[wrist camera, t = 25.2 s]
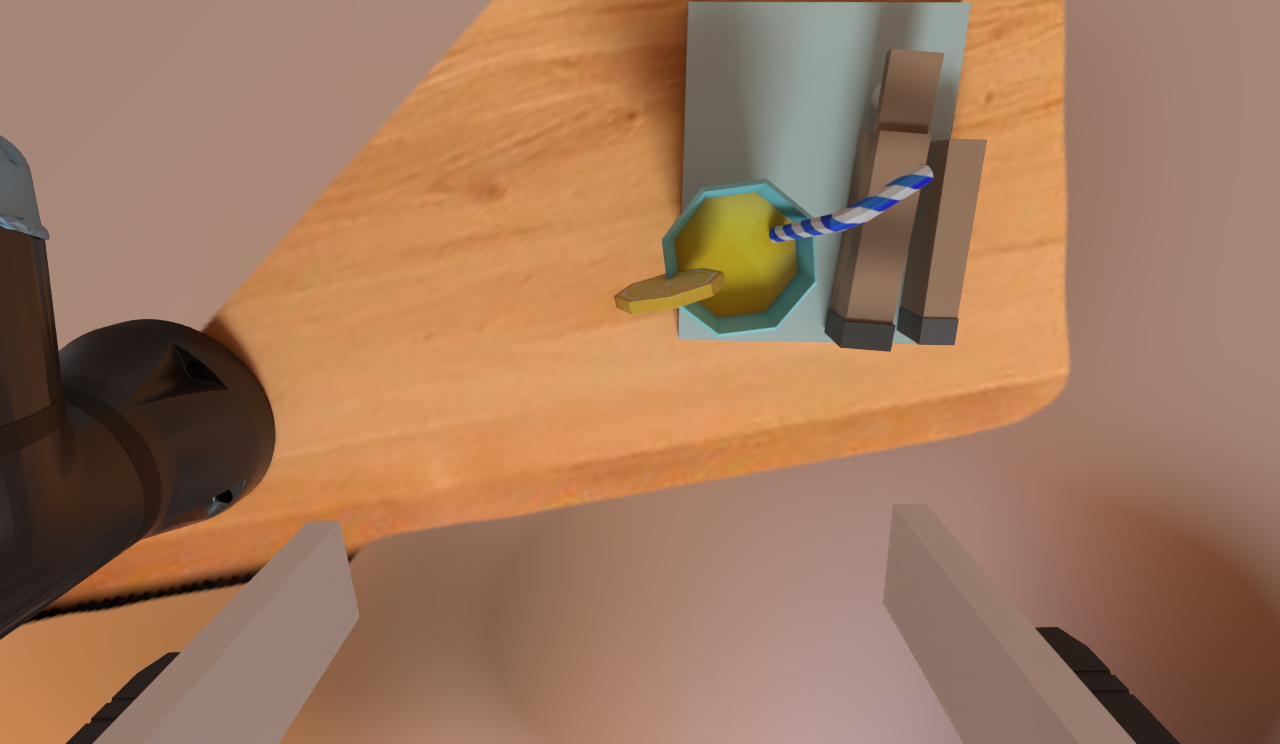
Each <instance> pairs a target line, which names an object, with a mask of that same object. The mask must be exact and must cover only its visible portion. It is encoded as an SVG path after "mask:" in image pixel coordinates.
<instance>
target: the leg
mask: <svg viewBox="0 0 1280 744" xmlns="http://www.w3.org/2000/svg"><path fill="white" fill-rule="evenodd" d="M943 58H944V53H940V52H927V51H915V50H902V49H890V50H889V51H887V55H886V61H885V66H884V72H883V78H882V83H881V89H880V95H879V100H878V106H877V112H876V117H875V123H874V129H873V132H871V133H867V134H863V135H860V136H859V142H858V148H857V153H856V159H855V165H854V171H853V177H852V183H851V188H850V194H849V200H848V206H847V207H849V206H851V205H853V204H855V203H857V202H858V201H860V200H862V199H863V198H865V197H867V196H869V195H870V194H872V193H874V192H875V191H877V190H879V189H880V188H882V187H884V186H885V185H887V184H889V183H890V182H892V181H894V180H896V179H897V178H899V177H901V176H902V175H904V174H906V173H907V172H909V171H911V170H912V169H914V168H916V167H918V166H919V165H921V164H924V165H926V160H927V155H928V150H929V145H930V140H931V134H928V132H929V127H930V122H931V117H932V112H933V107H934V102H935V97H936V92H937V87H938V83H939V78H940V73H941V68H942V63H943ZM920 189H921V188H920ZM920 189H919V190H917V191H916V192H914V193H912V194H911V195H909V196H908V197H906V198H904V199H903V200H901V201H900V202H898V203H896V204H895V205H893V206H892V207H890V208H888V209H887V210H885V211H884V212H882V213H880V214H879V215H877V216H876V217H874V218H872V219H871V220H869V221H868V222H866V223H864V224H861V225H858V226H855V227H852V228H849V229H847V230H844V231H843V235H842V241H841V247H840V253H839V258H838V264H837V270H836V276H835V282H834V288H833V294H832V299H831V305H830V309H828V314H827V320H826V325H825V331H824V333H825V334H826V335H827V336H828V337H830V338H831V339H832V340H833V341H834V342H835V343H836V344H837V345H838V346H839V347H840V348H852V349H865V350H877V351H889V352H890V351H891V347H892V342H893V337H894V332H895V327H896V325H894V324H893V322H894V317H895V312H896V307H897V302H898V297H899V292H900V287H901V283H902V278H903V273H904V268H905V263H906V258H907V253H908V248H909V243H910V238H911V234H912V229H913V224H914V219H915V214H916V209H917V204H918V199H919V194H920Z"/></svg>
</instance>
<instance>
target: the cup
mask: <svg viewBox="0 0 1280 744" xmlns="http://www.w3.org/2000/svg"><path fill="white" fill-rule="evenodd" d="M932 180H933V172H932V170H931V169H930V168H929V166H928V165H924V164H921V165H919V166H918V167H916V168H914V169H912V170H911V171H909V172H907V173H906V174H904V175H902V176H901V177H899V178H897V179H896V180H894V181H892V182H890V183H889V184H887V185H885V186H884V187H882V188H880V189H879V190H877V191H875V192H874V193H872V194H870V195H869V196H867V197H865V198H863V199H862V200H860V201H858V202H857V203H855V204H853V205H851V206H849V207H847V208H846V209H843V210H841V211H838V212H836V213H833V214H828V215H824V216H820V217H815V218H814V217H813V216H811V215H810V214H809V213H808V212H806V211H805V210H804V209H803V208H802V207H800V206H799V205H798V204H797V203H796V202H794V201H793V200H792V199H791V198H790V197H788V196H787V195H786V194H785V193H784V192H782V191H781V190H780V189H779V188H778V187H776V186H775V185H774V184H773V183H772V182H770V181H769V180H768V179H767V178H764V179H757V180H750V181H743V182H736V183H729V184H722V185H714V186H707V187H701V189H700V190H699V191H698V193H697V194H696V195H695V197H694V198H693V199H692V201H691V202H690V203H689V205H688V206H687V207H686V208H685V210H684V211H683V212H682V214H681V215H680V216H679V218H678V219H677V220H676V222H675V223H674V224H673V226H672V227H671V228H670V230H669V231H668V232H667V234H666V235H665V236H664V237H663V239H662V245H663V253H664V261H665V269H666V274H663V275H660V276H656V277H653V278H650V279H647V280H644V281H640V282H637V283H634V284H631V285H629V286H628V287H626V288H625V289H624V290H622V291H621V292H619V293H618V294H616V295H615V296H614V298H615V302H616V306H617V308H619V309H621V310H623V311H626V312H628V313H630V314H637V313H646V312H654V311H663V310H672V309H675V308H679V309H680V310H682V311H683V312H684V313H685V314H687V315H688V316H689V317H691V318H692V319H693V320H695V321H696V322H697V323H699V324H700V325H701V326H702V327H704V328H705V329H706V330H708V331H709V332H710V333H712V334H713V335H714V336H716V337H725V336H733V335H741V334H750V333H758V332H766V331H774V330H778V329H779V328H780V326H781V325H782V324H783V323H784V322H785V321H786V319H787V318H788V317H789V316H790V315H791V314H792V312H793V311H794V310H795V309H796V308H797V307H798V305H799V304H800V303H801V302H802V301H803V300H804V298H805V297H806V296H807V295H808V294H809V293H810V291H811V290H812V289H813V288H814V287H815V286H816V284H817V283H818V263H817V243H816V236H817V235H823V234H828V233H834V232H840V231H844V230H847V229H849V228H852V227H855V226H858V225H861V224H864V223H866V222H868V221H869V220H871V219H872V218H874V217H876V216H877V215H879V214H880V213H882V212H884V211H885V210H887V209H888V208H890V207H892V206H893V205H895V204H896V203H898V202H900V201H901V200H903V199H904V198H906V197H908V196H909V195H911V194H912V193H914V192H916V191H917V190H919V189H920V188H922V187H924V186H925V185H927V184H929V183H930V182H931V181H932Z"/></svg>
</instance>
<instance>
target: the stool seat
mask: <svg viewBox="0 0 1280 744" xmlns="http://www.w3.org/2000/svg"><path fill="white" fill-rule="evenodd" d="M970 7H971V3H962V2H688V15H687V49H686V83H685V117H684V151H683V184H682V212H683V211H684V210H685V208H686V207H687V206H688V205H689V203H690V202H691V201H692V199H693V198H694V197H695V195H696V194H697V193H698V191H699V190H700V189H701V187H707V186H714V185H722V184H729V183H736V182H743V181H750V180H757V179H764V178H767V179H768V180H769V181H770V182H772V183H773V184H774V185H775V186H776V187H778V188H779V189H780V190H781V191H782V192H784V193H785V194H786V195H787V196H788V197H790V198H791V199H792V200H793V201H794V202H796V203H797V204H798V205H799V206H800V207H802V208H803V209H804V210H805V211H806V212H808V213H809V214H810V215H811V216H813V217H814V218H815V217H820V216H824V215H828V214H833V213H836V212H838V211H841V210H843V209H846V208H847V206H848V200H849V194H850V188H851V183H852V177H853V171H854V165H855V159H856V153H857V148H858V142H859V136H860V135H863V134H867V133H871V132H873V129H874V123H875V117H876V112H877V106H878V100H879V95H880V89H881V83H882V78H883V72H884V66H885V61H886V55H887V51H889V50H890V49H902V50H915V51H927V52H940V53H944V58H943V63H942V68H941V73H940V78H939V83H938V87H937V92H936V97H935V102H934V107H933V112H932V117H931V122H930V127H929V132H928V134H931V140H930V145H929V150H928V155H927V160H926V165H928V166H929V168H930V169H931V170H932V172H933V180H932V181H931V182H930V183H929V184H927V185H925V186H924V187H922V188H921V189H920V194H919V199H918V204H917V209H916V214H915V219H914V224H913V229H912V234H911V238H910V243H909V248H908V253H907V258H906V263H905V268H904V273H903V278H902V283H901V287H900V292H899V297H898V302H897V307H896V312H895V317H894V322H893V324H894V325H896V327H895V332H894V337H893V342H892V343H894V344H919V345H954V344H955V338H956V332H957V326H958V320H959V319H957V316H958V310H959V304H960V298H961V292H962V286H963V280H964V274H965V268H966V262H967V256H968V250H969V244H970V238H971V232H972V226H973V220H974V214H975V208H976V202H977V196H978V190H979V184H980V178H981V172H982V166H983V160H984V154H985V148H986V142H987V140H978V139H951V133H952V126H953V120H954V113H955V106H956V100H957V93H958V87H959V80H960V73H961V67H962V60H963V53H964V47H965V40H966V33H967V27H968V20H969V13H970ZM842 235H843V231H840V232H834V233H828V234H823V235H817V236H816V243H817V263H818V283H817V284H816V286H815V287H814V288H813V289H812V290H811V291H810V293H809V294H808V295H807V296H806V297H805V298H804V300H803V301H802V302H801V303H800V304H799V305H798V307H797V308H796V309H795V310H794V311H793V312H792V314H791V315H790V316H789V317H788V318H787V319H786V321H785V322H784V323H783V324H782V325H781V326H780V328H779V329H778V330H774V331H766V332H758V333H750V334H741V335H733V336H725V337H716V336H714V335H713V334H712V333H710V332H709V331H708V330H706V329H705V328H704V327H702V326H701V325H700V324H699V323H697V322H696V321H695V320H693V319H692V318H691V317H689V316H688V315H687V314H685V313H684V312H683V311H682V310H680V309H679V320H678V339H679V340H725V341H781V342H834V341H833V340H832V339H831V338H830V337H828V336H827V335H826V334H825V333H824V331H825V325H826V320H827V314H828V309H830V305H831V299H832V294H833V288H834V282H835V276H836V270H837V264H838V258H839V253H840V247H841V241H842Z"/></svg>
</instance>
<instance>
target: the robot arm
mask: <svg viewBox="0 0 1280 744" xmlns="http://www.w3.org/2000/svg"><path fill="white" fill-rule="evenodd" d="M47 239H49V234H48V232H47V230H46V229H45V228H44V227H43V226H42V225H41V222H40V217H39V212H38V206H37V202H36V196H35V191H34V186H33V181H32V176H31V171H30V168H29V165H28V163H27V161H26V159H25V158H24V156H23V155H22V154H21V152H20V151H19V150H18V149H17V148H16V147H15V146H14V145H13V144H12V143H10V142H9V141H8V140H6V139H5V138H4V137H2V136H0V640H1V639H2V638H4V637H5V636H6V635H8V634H9V633H11V632H12V631H13V630H15V629H16V628H17V627H19V626H20V625H22V624H23V623H24V622H26V621H27V620H29V619H30V618H31V617H33V616H34V615H36V614H37V613H38V612H40V611H41V610H43V609H44V608H45V607H47V606H48V605H50V604H51V603H52V602H54V601H55V600H57V599H58V598H59V597H61V596H62V595H64V594H65V593H66V592H68V591H69V590H71V589H72V588H73V587H75V586H76V585H78V584H79V583H80V582H82V581H83V580H85V579H86V578H87V577H89V576H90V575H92V574H93V573H94V572H96V571H97V570H99V569H100V568H101V567H103V566H104V565H106V564H107V563H108V562H110V561H111V560H113V559H114V558H115V557H117V556H118V555H120V554H121V553H122V552H123V551H125V550H126V549H128V548H129V547H131V546H132V545H134V544H135V543H137V542H138V541H140V540H142V539H145V538H148V537H152V536H155V535H158V534H162V533H165V532H168V531H172V530H175V529H178V528H182V527H185V526H188V525H192V524H195V523H198V522H201V521H205V520H208V519H210V518H213V517H215V516H217V515H219V514H221V513H223V512H224V511H226V510H227V509H229V508H230V507H232V506H233V505H234V504H236V503H237V502H238V501H240V500H241V499H242V498H244V497H245V496H246V495H248V494H249V493H250V492H251V491H252V490H253V489H254V488H255V487H256V486H257V485H258V484H259V483H260V481H261V480H262V479H263V477H264V476H265V474H266V472H267V470H268V468H269V465H270V463H271V459H272V456H273V451H274V439H275V435H274V424H273V419H272V414H271V411H270V408H269V405H268V402H267V400H266V398H265V395H264V393H263V391H262V390H261V388H260V386H259V384H258V383H257V381H256V380H255V378H254V377H253V375H252V374H251V373H250V371H249V370H248V369H247V368H246V366H245V365H244V364H243V363H242V362H241V361H240V360H239V359H238V358H237V357H236V356H235V355H234V354H233V353H231V352H230V351H229V350H228V349H227V348H225V347H224V346H223V345H221V344H220V343H219V342H217V341H215V340H214V339H212V338H211V337H209V336H207V335H205V334H203V333H201V332H199V331H197V330H195V329H192V328H190V327H187V326H184V325H181V324H178V323H174V322H169V321H163V320H155V319H140V320H131V321H126V322H122V323H118V324H115V325H111V326H107V327H103V328H100V329H96V330H93V331H91V332H88V333H86V334H84V335H82V336H80V337H78V338H76V339H75V340H73V341H72V342H70V343H69V344H67V345H66V346H65V347H64V348H62V349H61V350H60V351H58V344H57V335H56V328H55V319H54V311H53V302H52V294H51V286H50V278H49V269H48V261H47V254H46V245H45V240H47ZM883 603H884V605H885V607H886V609H887V611H888V612H889V614H890V616H891V617H892V619H893V621H894V623H895V625H896V626H897V628H898V630H899V632H900V633H901V635H902V637H903V639H904V640H905V642H906V644H907V646H908V647H909V649H910V651H911V652H912V654H913V656H914V658H915V660H916V661H917V663H918V665H919V667H920V668H921V670H922V672H923V674H924V675H925V677H926V679H927V681H928V682H929V684H930V686H931V687H932V689H933V691H934V693H935V695H936V696H937V698H938V700H939V702H940V703H941V705H942V707H943V709H944V710H945V712H946V714H947V716H948V717H949V719H950V721H951V722H952V724H953V726H954V727H955V730H956V731H957V733H958V735H959V736H960V738H961V740H962V742H963V743H964V744H1180V743H1179V742H1178V741H1177V740H1176V739H1175V738H1174V737H1173V736H1172V735H1171V733H1170V732H1168V730H1167V729H1166V728H1165V727H1164V726H1163V725H1162V724H1161V723H1160V722H1159V721H1158V720H1157V719H1156V718H1155V717H1154V716H1153V715H1152V714H1151V713H1150V712H1149V710H1148V709H1147V708H1146V707H1145V706H1144V705H1143V704H1142V703H1141V702H1140V701H1139V700H1138V699H1137V698H1136V697H1135V696H1134V695H1130V693H1129V690H1128V689H1127V687H1126V686H1124V684H1123V683H1122V682H1121V681H1120V680H1119V679H1118V678H1117V677H1116V676H1115V675H1111V673H1110V670H1109V669H1108V667H1107V666H1106V665H1105V664H1104V663H1103V662H1102V661H1101V660H1100V659H1099V658H1098V657H1097V656H1096V655H1095V654H1094V653H1093V652H1092V651H1091V650H1090V649H1089V648H1088V647H1087V646H1086V645H1084V644H1083V643H1081V642H1080V641H1078V640H1076V639H1075V638H1073V637H1072V636H1070V635H1069V634H1067V633H1066V632H1064V631H1063V630H1061V629H1060V628H1058V627H1044V628H1043V627H1040V628H1034V627H1033V625H1032V624H1031V623H1030V622H1029V621H1028V620H1027V619H1026V618H1025V616H1024V615H1023V614H1022V613H1021V612H1020V611H1019V610H1018V608H1017V607H1016V606H1015V605H1014V604H1013V603H1012V602H1011V600H1010V599H1009V598H1008V597H1007V596H1006V595H1005V594H1004V593H1003V591H1002V590H1001V589H1000V588H999V587H998V585H997V584H996V583H995V582H994V581H993V580H992V579H991V577H990V576H989V575H988V574H987V573H986V572H985V571H984V569H983V568H982V567H981V566H980V565H979V564H978V563H977V562H976V560H975V559H974V558H973V557H972V556H971V555H970V554H969V552H968V551H967V550H966V549H965V548H964V547H963V546H962V544H961V543H960V542H959V541H958V540H957V539H956V538H955V536H954V535H953V534H952V533H951V532H950V531H949V530H948V528H947V527H946V526H945V525H944V524H943V523H942V522H941V520H940V519H939V518H938V517H937V516H936V515H935V514H934V513H933V511H932V510H931V509H930V508H929V507H928V506H927V505H926V504H899V505H898V504H896V505H893V511H892V521H891V531H890V540H889V550H888V560H887V569H886V579H885V590H884V598H883ZM358 618H359V613H358V608H357V603H356V598H355V593H354V588H353V584H352V579H351V574H350V569H349V564H348V559H347V554H346V549H345V544H344V539H343V534H342V530H341V525H340V521H308V522H307V523H306V524H305V525H304V526H303V527H302V528H301V529H300V530H299V531H298V532H297V533H296V534H295V535H294V536H293V537H292V538H291V539H290V540H289V541H288V542H287V543H286V544H285V545H284V546H283V547H282V548H281V549H280V551H279V552H278V553H277V554H276V555H275V556H274V557H273V558H272V559H271V560H270V561H269V562H268V563H267V564H266V565H265V566H264V567H263V568H262V569H261V570H260V571H259V572H258V573H257V574H256V575H255V576H254V577H253V578H252V579H251V580H250V582H249V583H248V584H247V585H246V586H245V587H244V588H243V589H242V590H241V591H240V592H239V593H238V594H237V595H236V596H235V597H234V598H233V599H232V600H231V601H230V602H229V603H228V604H227V605H226V606H225V607H224V608H223V609H222V611H220V613H219V614H218V615H217V616H216V617H215V618H214V619H213V620H212V621H211V622H210V623H209V624H208V625H207V626H206V627H205V628H204V629H203V630H202V631H201V632H200V633H199V635H197V636H196V637H195V638H194V639H193V640H192V642H190V644H189V645H188V646H187V647H186V648H185V649H184V650H183V651H182V652H173V653H172V652H171V653H167V654H166V655H164V656H163V657H161V658H160V659H159V660H157V661H155V662H154V663H152V664H151V665H149V666H148V667H146V668H145V669H143V670H142V671H140V672H139V673H137V674H136V675H135V676H134V677H133V678H132V679H131V680H130V681H129V682H128V683H127V684H126V685H125V686H124V687H123V688H122V689H121V690H120V691H119V692H118V693H117V694H116V695H115V696H114V697H113V698H112V701H111V703H106V704H105V705H104V707H102V708H101V709H100V710H99V711H98V712H97V713H96V714H95V715H94V716H93V717H92V718H91V722H90V723H89V724H85V725H84V726H83V727H82V728H81V729H80V730H79V731H78V732H77V733H76V734H75V735H74V736H73V737H72V738H71V739H70V740H69V741H68V742H67V743H66V744H278V743H279V742H280V740H281V738H282V737H283V736H284V734H285V733H286V731H287V729H288V728H289V726H290V725H291V723H292V722H293V720H294V718H295V717H296V715H297V714H298V712H299V711H300V709H301V707H302V706H303V704H304V703H305V701H306V700H307V698H308V697H309V695H310V693H311V692H312V690H313V689H314V687H315V685H316V684H317V682H318V681H319V679H320V678H321V676H322V675H323V673H324V672H325V670H326V668H327V667H328V665H329V664H330V662H331V660H332V659H333V657H334V656H335V654H336V653H337V651H338V650H339V648H340V647H341V645H342V643H343V642H344V640H345V639H346V637H347V636H348V634H349V632H350V631H351V629H352V628H353V626H354V624H355V623H356V621H357V620H358Z"/></svg>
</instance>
